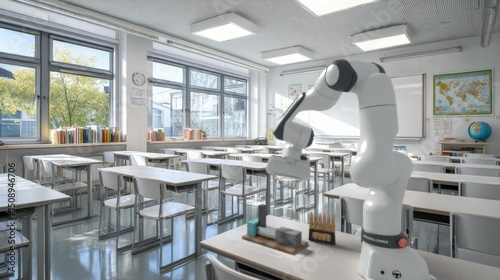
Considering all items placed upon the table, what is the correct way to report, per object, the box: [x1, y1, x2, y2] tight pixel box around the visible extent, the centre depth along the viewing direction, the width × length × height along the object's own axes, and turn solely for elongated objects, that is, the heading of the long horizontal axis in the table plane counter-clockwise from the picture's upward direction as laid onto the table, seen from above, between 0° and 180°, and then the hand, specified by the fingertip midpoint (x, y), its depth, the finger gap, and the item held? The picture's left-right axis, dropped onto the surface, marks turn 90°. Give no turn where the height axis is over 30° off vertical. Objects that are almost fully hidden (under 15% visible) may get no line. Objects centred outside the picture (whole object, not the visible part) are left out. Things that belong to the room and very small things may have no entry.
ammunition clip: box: [308, 211, 337, 246], centre depth 119 cm, size 11×2×12 cm, turn 64°
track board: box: [241, 226, 309, 255], centre depth 120 cm, size 24×12×6 cm, turn 50°
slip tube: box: [256, 203, 279, 239], centre depth 122 cm, size 14×3×12 cm, turn 50°
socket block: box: [246, 217, 258, 237], centre depth 126 cm, size 4×7×6 cm, turn 141°
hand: (284, 185), depth 130 cm, fingers open, 8 cm apart
